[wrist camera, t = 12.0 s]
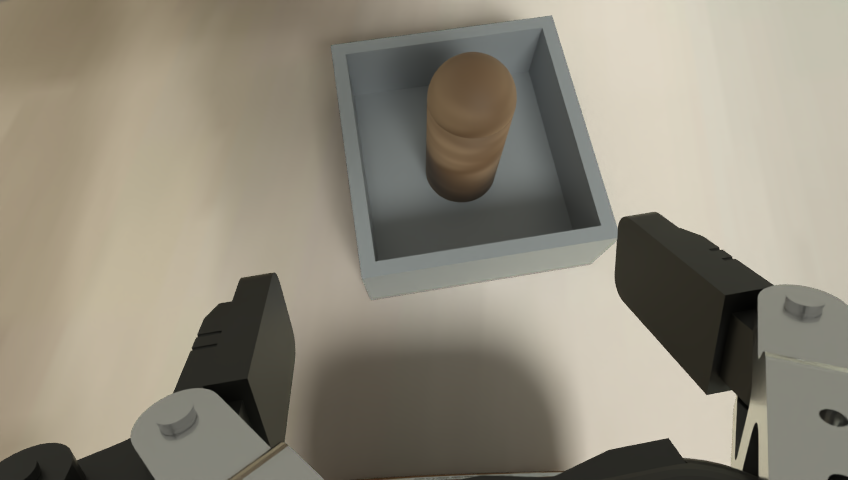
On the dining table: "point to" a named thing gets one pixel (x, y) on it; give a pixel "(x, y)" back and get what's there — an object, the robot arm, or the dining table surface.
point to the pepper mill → (467, 124)
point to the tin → (455, 478)
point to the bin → (514, 180)
